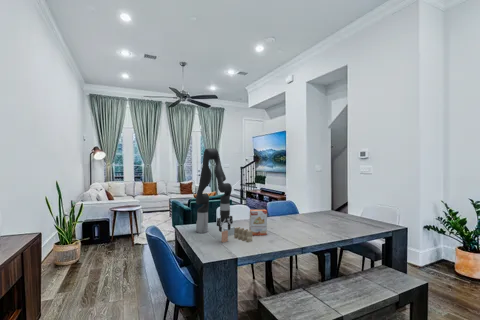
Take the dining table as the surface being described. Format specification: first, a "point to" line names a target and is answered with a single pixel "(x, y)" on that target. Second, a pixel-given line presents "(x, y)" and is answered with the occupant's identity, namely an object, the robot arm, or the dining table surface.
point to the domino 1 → (224, 236)
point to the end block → (229, 231)
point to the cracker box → (258, 222)
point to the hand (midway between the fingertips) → (224, 230)
